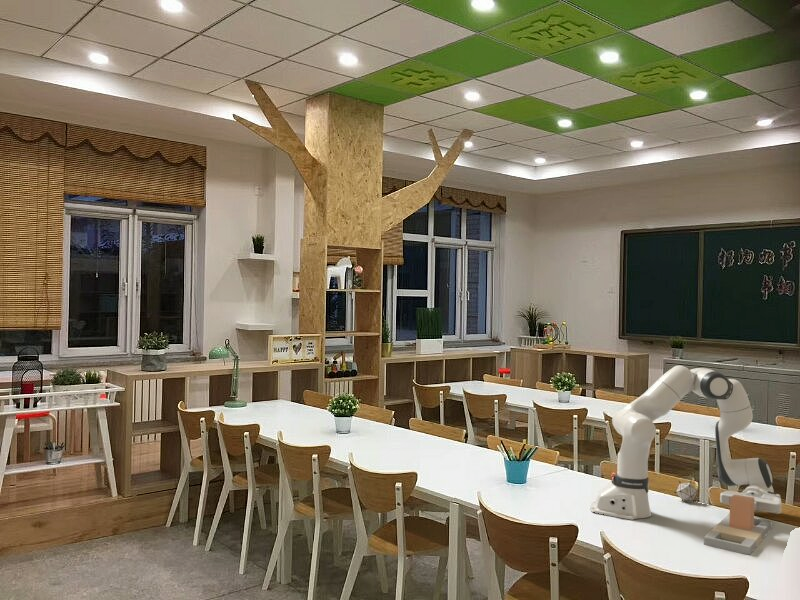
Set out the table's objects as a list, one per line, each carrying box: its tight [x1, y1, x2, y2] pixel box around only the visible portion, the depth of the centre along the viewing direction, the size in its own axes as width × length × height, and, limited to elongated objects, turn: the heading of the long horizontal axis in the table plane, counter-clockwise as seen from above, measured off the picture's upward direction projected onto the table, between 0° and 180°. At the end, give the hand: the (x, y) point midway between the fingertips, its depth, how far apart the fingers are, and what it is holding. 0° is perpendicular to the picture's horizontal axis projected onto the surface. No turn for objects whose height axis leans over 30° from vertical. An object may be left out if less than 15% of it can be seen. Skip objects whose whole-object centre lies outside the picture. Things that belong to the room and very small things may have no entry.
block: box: [729, 494, 755, 531], centre depth 238 cm, size 6×6×10 cm
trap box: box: [703, 513, 772, 556], centre depth 235 cm, size 34×14×2 cm, turn 141°
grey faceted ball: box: [673, 480, 700, 503], centre depth 276 cm, size 9×8×10 cm
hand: (745, 506), depth 243 cm, fingers closed
